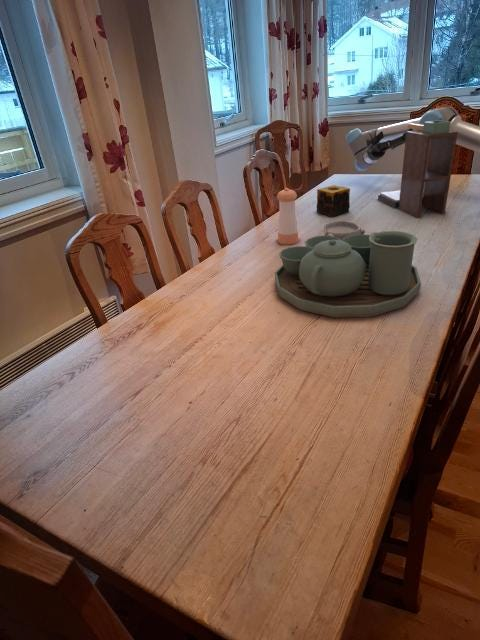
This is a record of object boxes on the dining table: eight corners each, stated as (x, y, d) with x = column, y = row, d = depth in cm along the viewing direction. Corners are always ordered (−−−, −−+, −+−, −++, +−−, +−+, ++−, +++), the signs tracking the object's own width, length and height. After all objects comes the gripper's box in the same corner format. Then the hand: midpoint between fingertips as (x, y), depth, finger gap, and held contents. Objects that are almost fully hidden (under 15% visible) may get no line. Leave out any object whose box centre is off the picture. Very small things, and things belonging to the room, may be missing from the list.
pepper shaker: (302, 239, 158) (301, 186, 148) (289, 245, 153) (288, 191, 144) (286, 236, 162) (284, 184, 153) (274, 242, 158) (271, 189, 148)
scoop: (448, 132, 155) (450, 121, 154) (433, 134, 155) (435, 123, 153) (415, 126, 173) (416, 117, 172) (402, 128, 172) (403, 119, 171)
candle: (331, 217, 177) (332, 193, 172) (315, 212, 185) (315, 189, 180) (349, 212, 182) (351, 188, 177) (333, 207, 189) (334, 184, 184)
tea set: (409, 258, 135) (415, 206, 127) (427, 323, 102) (437, 258, 94) (284, 257, 144) (282, 209, 136) (263, 317, 111) (259, 257, 103)
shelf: (444, 213, 170) (457, 131, 155) (417, 217, 168) (427, 135, 153) (424, 204, 182) (434, 127, 167) (398, 208, 180) (406, 131, 165)
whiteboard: (425, 203, 183) (426, 196, 181) (395, 208, 181) (396, 200, 179) (406, 195, 196) (406, 188, 194) (377, 199, 194) (378, 192, 192)
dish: (330, 249, 148) (330, 235, 145) (315, 236, 159) (315, 223, 157) (369, 242, 150) (370, 228, 147) (352, 230, 161) (353, 217, 159)
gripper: (400, 157, 204) (425, 137, 183) (351, 163, 201) (371, 144, 180) (397, 141, 204) (422, 120, 183) (348, 148, 201) (368, 127, 180)
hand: (397, 132), depth 182 cm, fingers open, 13 cm apart
